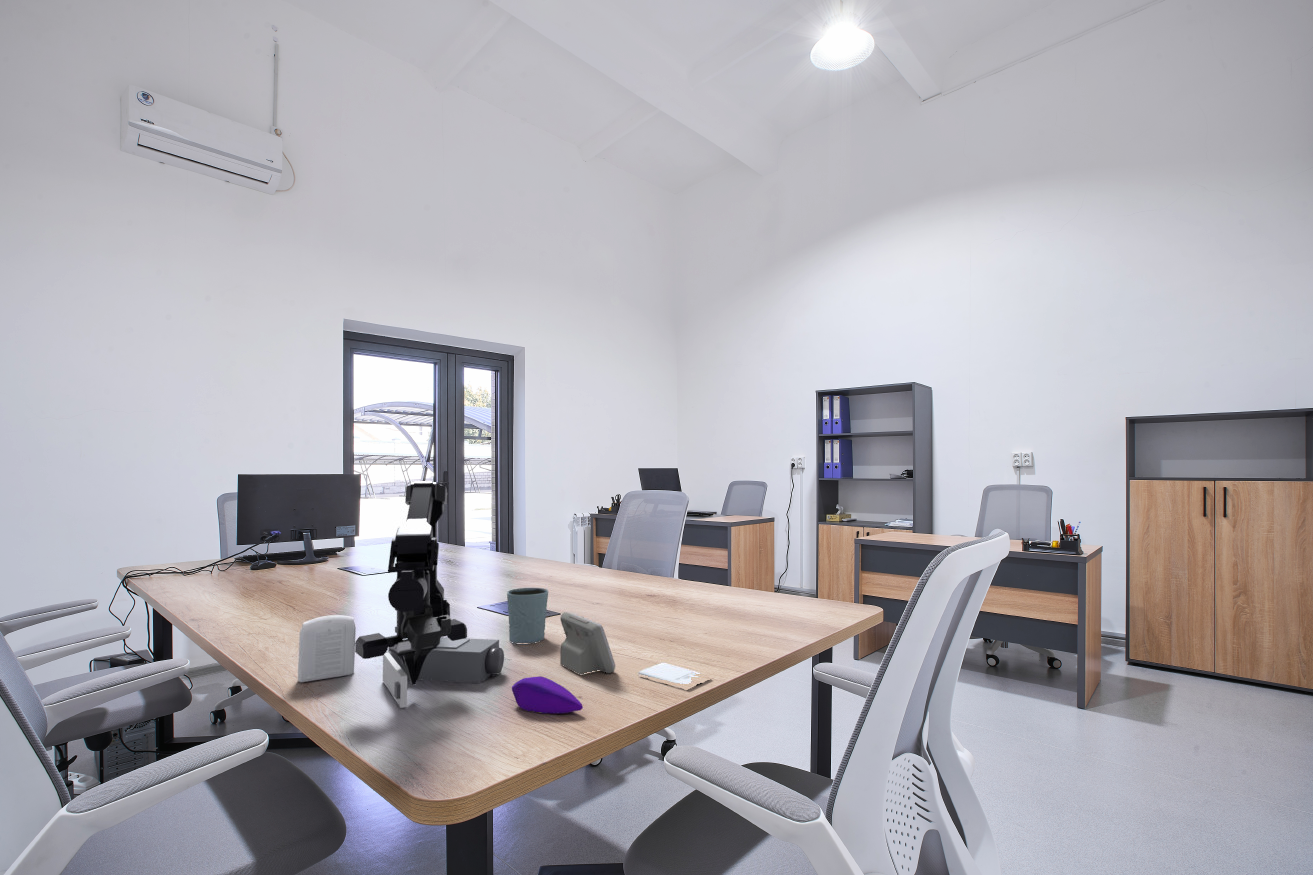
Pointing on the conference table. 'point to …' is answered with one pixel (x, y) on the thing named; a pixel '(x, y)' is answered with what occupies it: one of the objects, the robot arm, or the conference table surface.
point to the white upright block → (326, 648)
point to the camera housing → (461, 660)
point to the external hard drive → (669, 673)
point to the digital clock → (585, 645)
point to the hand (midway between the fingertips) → (413, 684)
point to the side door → (395, 679)
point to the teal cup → (527, 614)
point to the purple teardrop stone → (544, 696)
